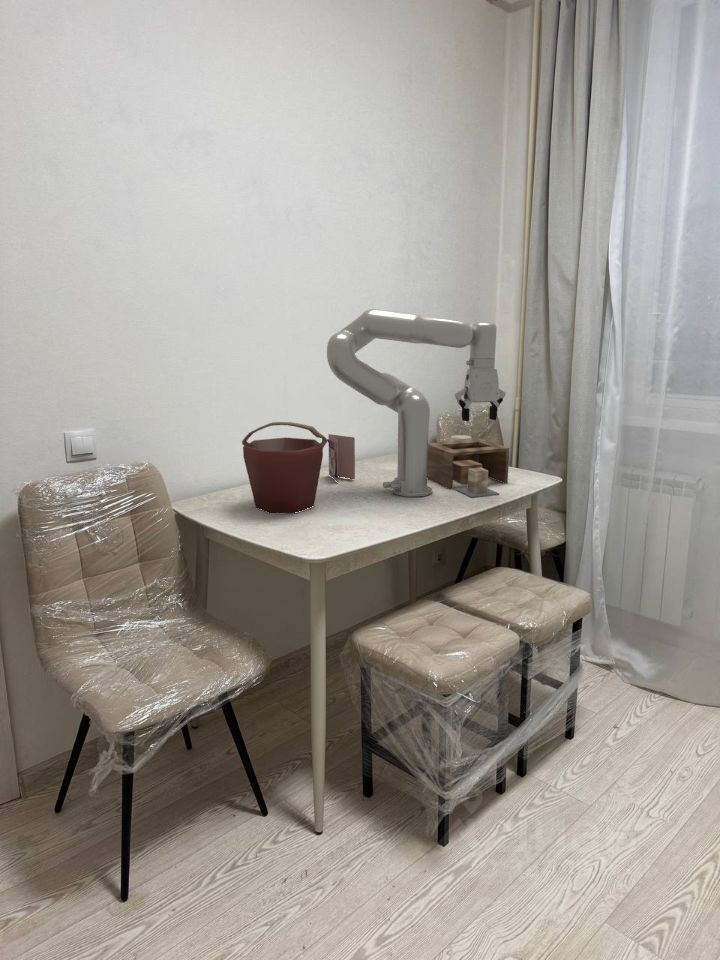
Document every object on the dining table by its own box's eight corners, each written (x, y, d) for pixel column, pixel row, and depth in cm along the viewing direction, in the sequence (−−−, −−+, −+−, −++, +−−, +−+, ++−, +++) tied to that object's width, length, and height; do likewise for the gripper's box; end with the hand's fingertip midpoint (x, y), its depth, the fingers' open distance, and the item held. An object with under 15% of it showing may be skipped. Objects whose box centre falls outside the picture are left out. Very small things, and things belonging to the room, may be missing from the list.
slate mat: (471, 498, 205) (471, 496, 205) (455, 490, 214) (455, 488, 214) (499, 494, 209) (499, 493, 209) (482, 487, 218) (482, 486, 218)
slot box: (449, 489, 216) (450, 452, 213) (424, 477, 232) (425, 443, 229) (507, 483, 224) (509, 448, 221) (479, 471, 240) (480, 439, 237)
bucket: (338, 501, 202) (337, 419, 196) (305, 521, 182) (303, 431, 176) (267, 493, 211) (264, 415, 205) (228, 512, 191) (224, 425, 185)
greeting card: (326, 476, 234) (326, 434, 230) (346, 474, 236) (346, 433, 232) (335, 483, 223) (335, 439, 219) (356, 482, 225) (356, 438, 222)
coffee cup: (444, 467, 247) (445, 435, 245) (465, 465, 250) (466, 434, 247) (454, 472, 240) (455, 439, 237) (475, 470, 242) (477, 438, 239)
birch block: (474, 493, 209) (475, 471, 207) (467, 490, 213) (468, 468, 211) (487, 492, 210) (488, 470, 209) (479, 488, 214) (480, 467, 213)
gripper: (463, 365, 196) (460, 423, 200) (513, 364, 202) (509, 420, 206) (450, 363, 202) (448, 419, 206) (499, 362, 208) (496, 417, 213)
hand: (479, 420), depth 206 cm, fingers open, 9 cm apart
